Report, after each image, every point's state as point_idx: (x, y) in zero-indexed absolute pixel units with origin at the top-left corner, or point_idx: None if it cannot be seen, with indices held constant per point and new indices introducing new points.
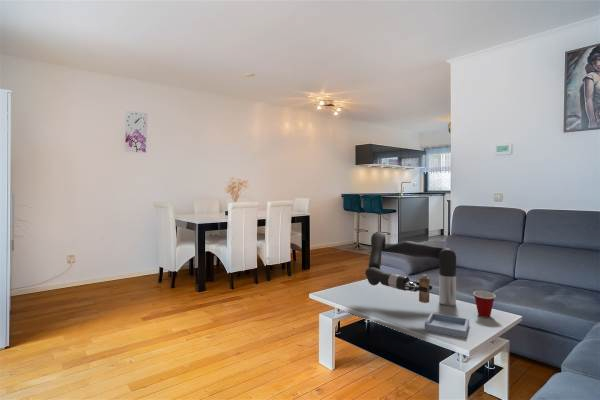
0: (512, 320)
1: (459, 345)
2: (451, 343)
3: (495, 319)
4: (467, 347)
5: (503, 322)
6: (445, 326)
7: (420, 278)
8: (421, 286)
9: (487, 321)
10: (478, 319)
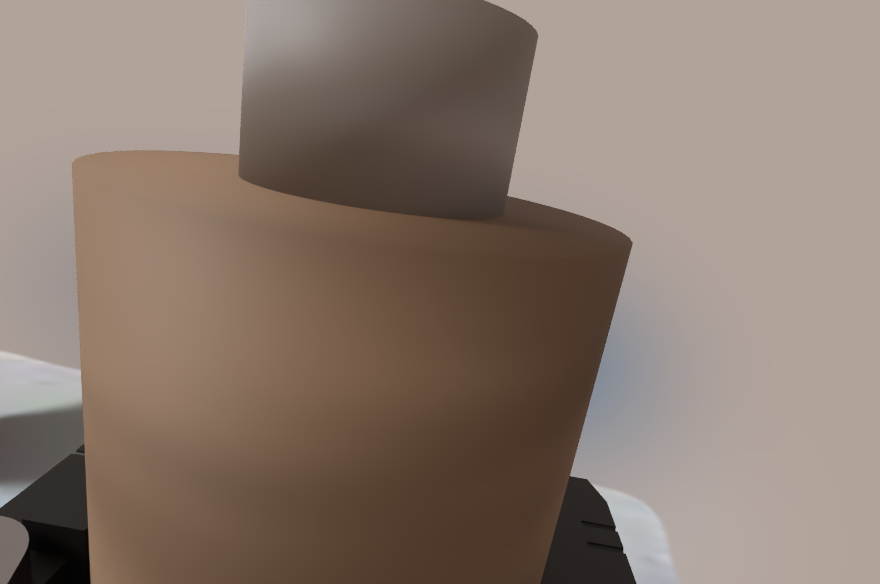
0: (26, 360)
1: (641, 536)
2: (664, 579)
3: (8, 410)
4: (622, 502)
5: (75, 386)
6: None
7: (571, 244)
8: (545, 564)
9: (65, 440)
10: (13, 481)
